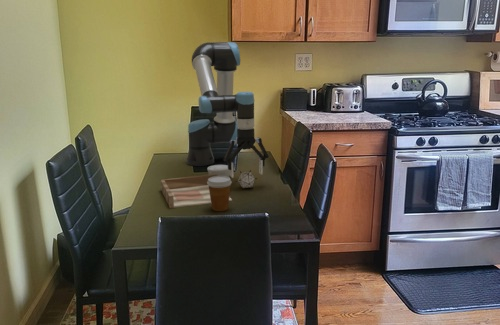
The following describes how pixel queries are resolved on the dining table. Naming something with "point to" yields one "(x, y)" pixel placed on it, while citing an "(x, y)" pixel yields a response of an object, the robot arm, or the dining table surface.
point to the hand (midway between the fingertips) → (246, 175)
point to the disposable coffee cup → (219, 192)
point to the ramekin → (219, 170)
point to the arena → (187, 191)
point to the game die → (246, 179)
